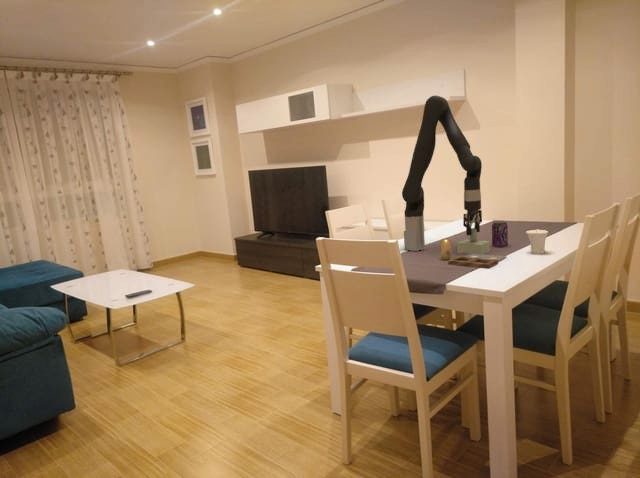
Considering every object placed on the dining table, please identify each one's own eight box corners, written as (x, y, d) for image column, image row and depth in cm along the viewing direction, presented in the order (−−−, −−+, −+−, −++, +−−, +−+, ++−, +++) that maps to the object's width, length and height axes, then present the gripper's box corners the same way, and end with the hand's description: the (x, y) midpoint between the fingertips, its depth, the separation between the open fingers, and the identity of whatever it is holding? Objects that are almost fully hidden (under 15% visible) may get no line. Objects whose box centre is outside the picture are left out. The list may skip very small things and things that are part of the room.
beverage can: (498, 248, 221) (497, 223, 219) (489, 245, 228) (488, 221, 225) (510, 246, 223) (510, 221, 220) (501, 244, 229) (501, 220, 227)
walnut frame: (448, 264, 198) (448, 260, 198) (458, 259, 205) (458, 256, 205) (488, 268, 186) (488, 264, 186) (498, 263, 192) (498, 260, 192)
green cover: (457, 253, 219) (456, 230, 217) (466, 249, 225) (465, 227, 223) (481, 255, 211) (481, 231, 209) (490, 251, 217) (489, 228, 215)
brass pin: (439, 259, 207) (439, 240, 206) (444, 258, 210) (444, 238, 209) (447, 260, 204) (447, 240, 203) (452, 258, 207) (452, 239, 206)
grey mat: (460, 259, 205) (460, 258, 204) (471, 254, 212) (471, 253, 212) (496, 263, 194) (496, 261, 193) (506, 257, 201) (506, 256, 201)
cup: (548, 250, 207) (549, 229, 206) (547, 255, 200) (547, 232, 198) (527, 250, 212) (527, 228, 210) (524, 254, 204) (524, 232, 202)
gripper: (471, 197, 221) (472, 230, 224) (457, 201, 211) (458, 235, 214) (486, 197, 216) (487, 231, 219) (473, 201, 206) (473, 236, 209)
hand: (473, 233), depth 216 cm, fingers open, 8 cm apart
